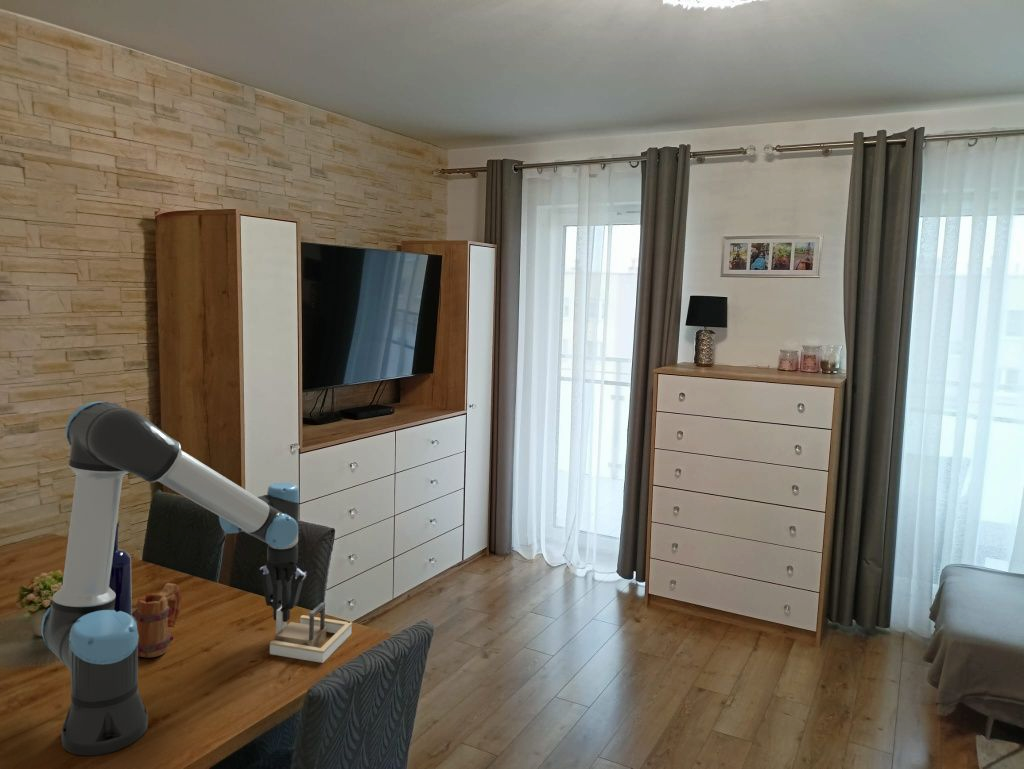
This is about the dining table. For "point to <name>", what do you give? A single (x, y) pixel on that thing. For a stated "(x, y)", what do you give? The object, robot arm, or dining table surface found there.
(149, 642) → the mug
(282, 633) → the trolley
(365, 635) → the dining table surface
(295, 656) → the bay
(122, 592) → the bottle
